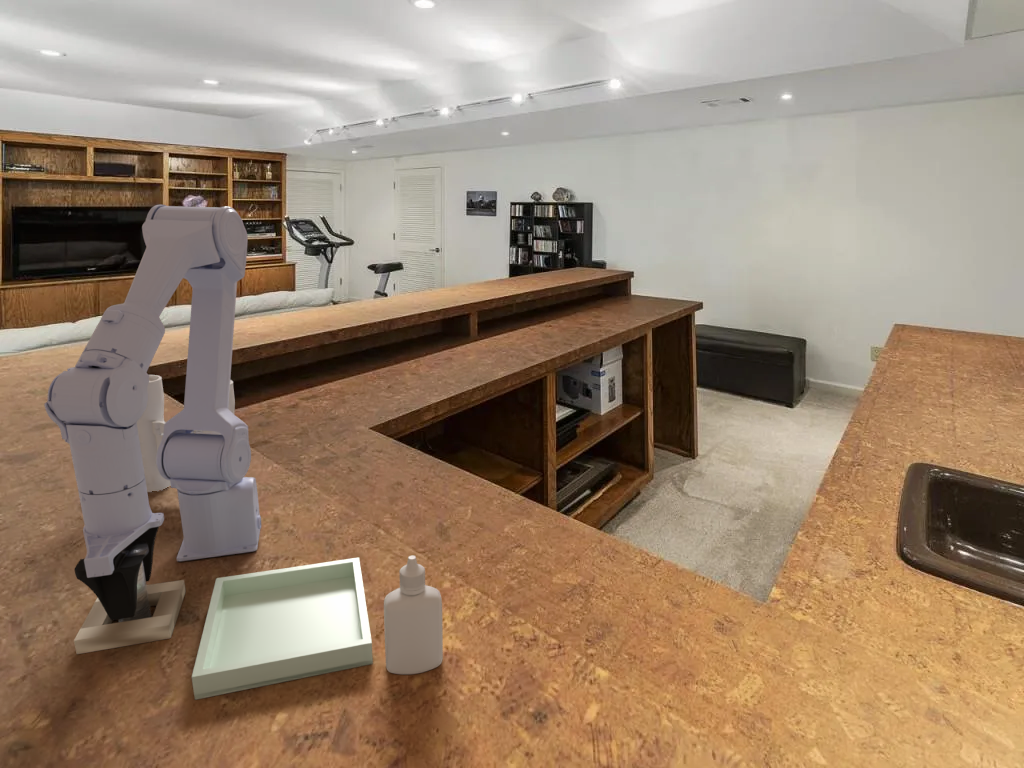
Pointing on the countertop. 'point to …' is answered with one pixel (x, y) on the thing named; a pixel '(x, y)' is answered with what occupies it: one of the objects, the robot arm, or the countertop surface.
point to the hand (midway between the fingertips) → (131, 598)
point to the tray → (283, 627)
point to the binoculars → (159, 431)
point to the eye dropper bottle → (413, 623)
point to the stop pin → (139, 582)
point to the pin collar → (133, 621)
